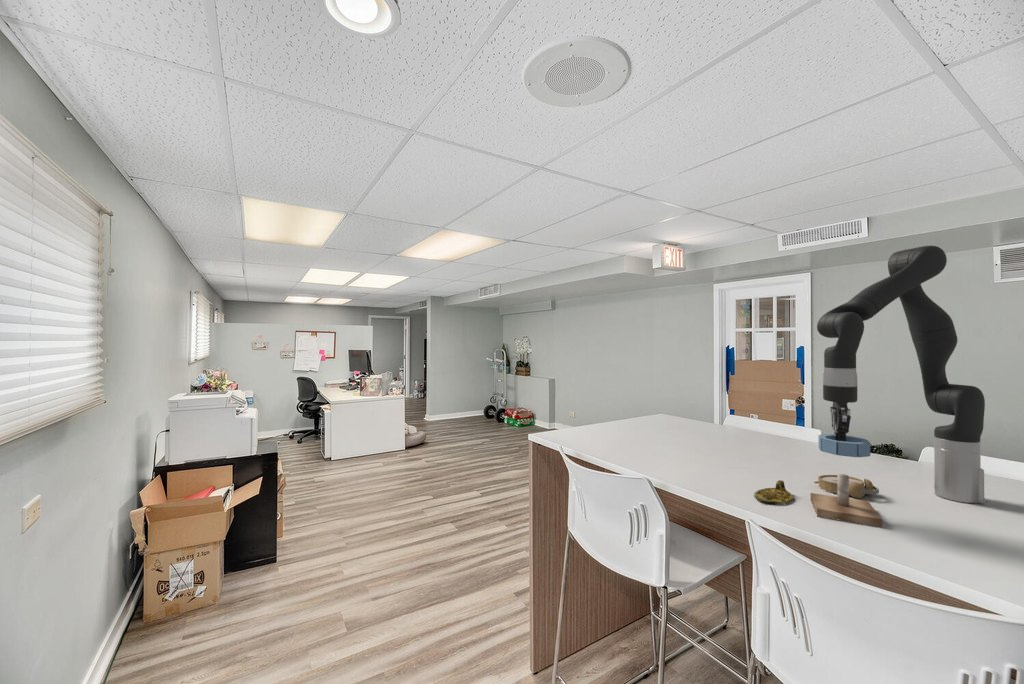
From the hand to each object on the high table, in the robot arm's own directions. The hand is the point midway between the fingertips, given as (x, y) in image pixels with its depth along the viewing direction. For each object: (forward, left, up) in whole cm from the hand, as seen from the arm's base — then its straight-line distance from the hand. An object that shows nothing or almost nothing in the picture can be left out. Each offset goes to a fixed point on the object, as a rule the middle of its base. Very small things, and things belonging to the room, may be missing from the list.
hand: (840, 445), depth 115 cm
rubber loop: (0, +5, -1) cm, 5 cm away
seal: (+16, +1, -18) cm, 24 cm away
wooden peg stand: (0, +4, -17) cm, 18 cm away
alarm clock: (-4, -15, -17) cm, 24 cm away
